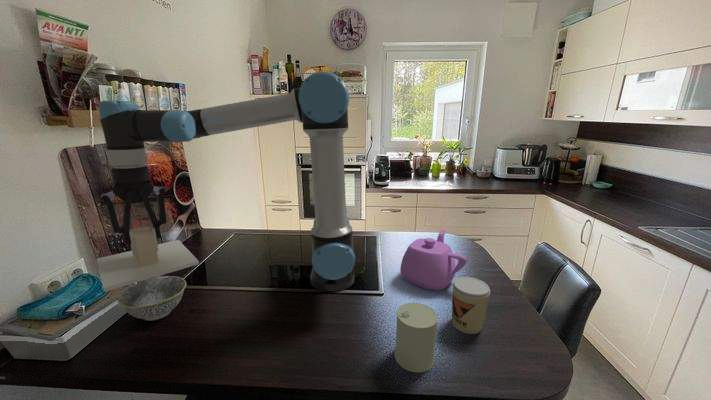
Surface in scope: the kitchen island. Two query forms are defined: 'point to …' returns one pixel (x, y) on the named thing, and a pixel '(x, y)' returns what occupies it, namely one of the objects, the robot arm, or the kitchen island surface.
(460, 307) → the cream canister
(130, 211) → the robot arm
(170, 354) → the kitchen island surface
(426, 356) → the can
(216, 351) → the kitchen island surface
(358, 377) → the kitchen island surface
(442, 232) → the teapot
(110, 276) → the lid
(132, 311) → the bowl
